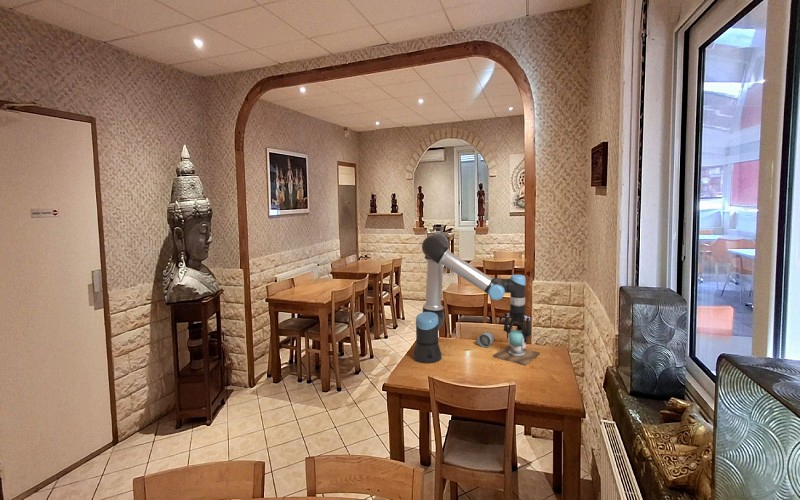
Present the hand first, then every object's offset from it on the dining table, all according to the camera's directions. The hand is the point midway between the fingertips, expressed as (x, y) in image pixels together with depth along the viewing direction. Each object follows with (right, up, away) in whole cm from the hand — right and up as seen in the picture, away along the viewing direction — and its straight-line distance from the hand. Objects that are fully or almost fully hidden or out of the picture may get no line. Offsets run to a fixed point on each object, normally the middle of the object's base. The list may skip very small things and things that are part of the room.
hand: (516, 346), depth 221 cm
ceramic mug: (-14, -4, +18) cm, 23 cm away
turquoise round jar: (0, +2, 0) cm, 2 cm away
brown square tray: (0, -5, +1) cm, 5 cm away
